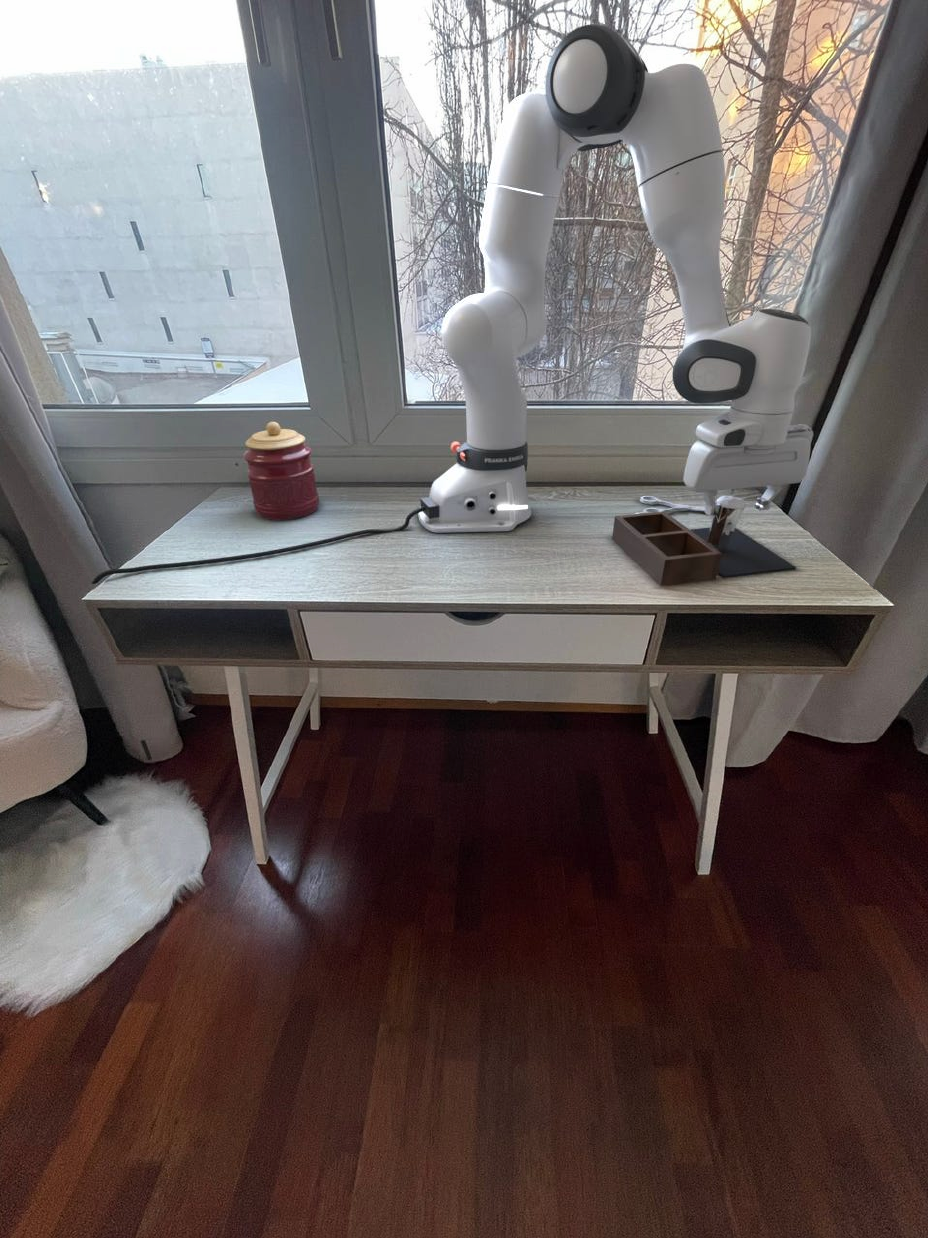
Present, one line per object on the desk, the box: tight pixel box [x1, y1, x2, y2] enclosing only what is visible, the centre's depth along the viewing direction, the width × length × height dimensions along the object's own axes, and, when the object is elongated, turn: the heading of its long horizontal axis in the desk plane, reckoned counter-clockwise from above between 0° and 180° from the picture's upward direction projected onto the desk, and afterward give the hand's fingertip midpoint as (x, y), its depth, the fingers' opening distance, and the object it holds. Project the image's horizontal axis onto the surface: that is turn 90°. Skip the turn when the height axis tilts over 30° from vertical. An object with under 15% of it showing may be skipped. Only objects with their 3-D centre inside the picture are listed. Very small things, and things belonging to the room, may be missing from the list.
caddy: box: [611, 511, 722, 587], centre depth 99 cm, size 10×18×4 cm, turn 12°
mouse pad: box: [690, 526, 797, 579], centre depth 102 cm, size 13×18×1 cm
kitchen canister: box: [242, 421, 320, 521], centre depth 118 cm, size 13×13×18 cm
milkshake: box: [707, 489, 747, 552], centre depth 99 cm, size 4×5×10 cm
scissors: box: [634, 495, 706, 514], centre depth 117 cm, size 11×1×20 cm
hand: (736, 511), depth 99 cm, fingers open, 8 cm apart
